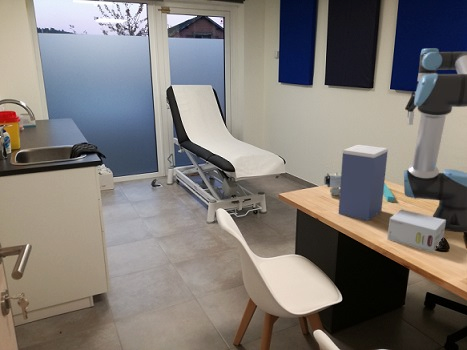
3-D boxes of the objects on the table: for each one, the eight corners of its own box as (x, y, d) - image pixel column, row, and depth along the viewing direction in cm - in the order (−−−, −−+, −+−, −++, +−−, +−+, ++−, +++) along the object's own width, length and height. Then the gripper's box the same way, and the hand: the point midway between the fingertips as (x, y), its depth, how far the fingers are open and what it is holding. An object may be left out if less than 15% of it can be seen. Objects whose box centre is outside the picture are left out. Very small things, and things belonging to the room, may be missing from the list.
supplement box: (386, 240, 151) (389, 217, 149) (398, 229, 161) (401, 208, 158) (432, 253, 141) (436, 229, 138) (443, 241, 150) (446, 218, 147)
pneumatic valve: (323, 193, 207) (324, 171, 204) (345, 193, 207) (346, 171, 204) (325, 196, 202) (326, 174, 199) (347, 196, 202) (349, 174, 199)
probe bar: (379, 188, 216) (379, 182, 216) (384, 188, 216) (385, 183, 215) (387, 202, 194) (387, 196, 193) (393, 202, 193) (394, 197, 192)
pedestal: (352, 204, 190) (357, 144, 182) (381, 210, 181) (387, 148, 173) (338, 213, 178) (343, 150, 170) (368, 221, 170) (374, 154, 161)
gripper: (454, 83, 175) (447, 129, 181) (412, 81, 197) (407, 122, 203) (441, 83, 172) (435, 130, 178) (400, 81, 195) (396, 123, 201)
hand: (420, 126), depth 191 cm, fingers open, 13 cm apart
